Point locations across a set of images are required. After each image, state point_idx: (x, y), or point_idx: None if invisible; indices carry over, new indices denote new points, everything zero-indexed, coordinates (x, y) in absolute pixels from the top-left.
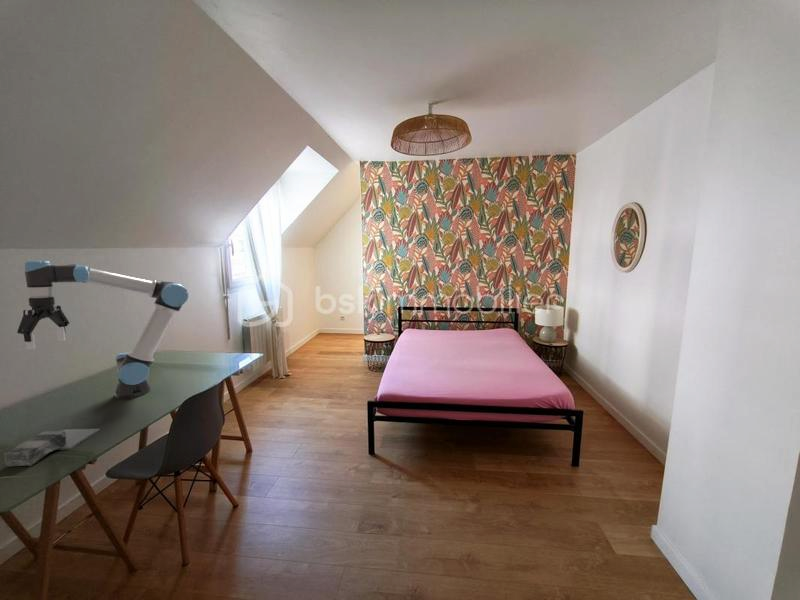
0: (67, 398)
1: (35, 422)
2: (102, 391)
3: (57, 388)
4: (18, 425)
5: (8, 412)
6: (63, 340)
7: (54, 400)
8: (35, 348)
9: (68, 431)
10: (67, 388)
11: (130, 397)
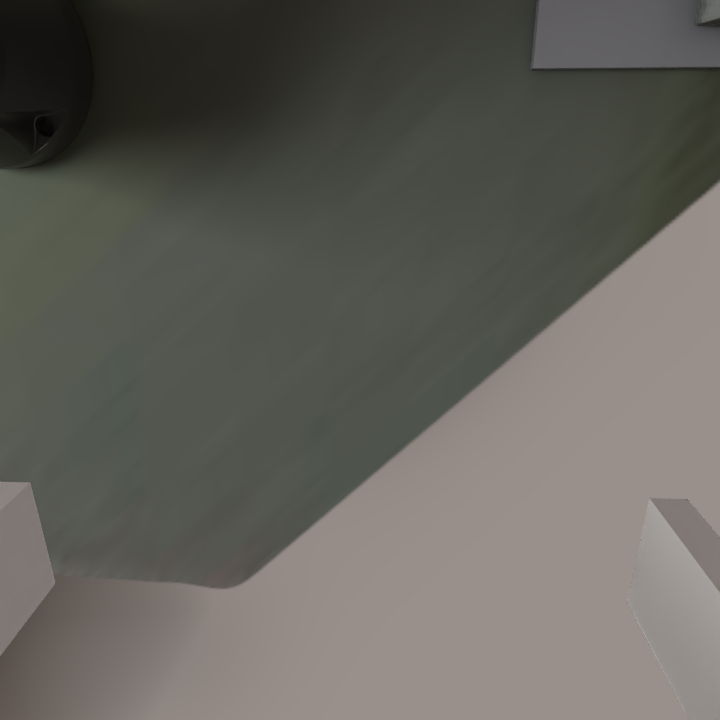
0: (121, 416)
1: (403, 329)
2: (3, 305)
3: None
4: (429, 379)
5: (291, 536)
6: (25, 500)
7: (151, 457)
8: (649, 501)
9: (564, 15)
10: None
11: (68, 5)
